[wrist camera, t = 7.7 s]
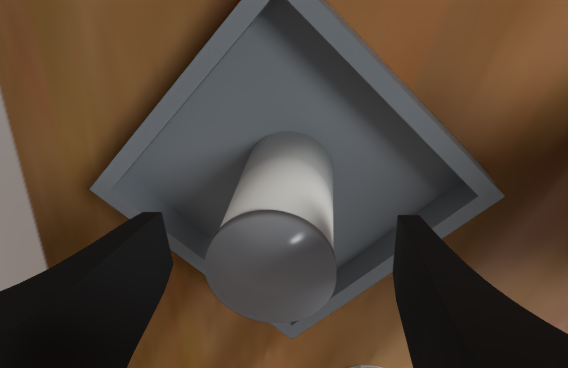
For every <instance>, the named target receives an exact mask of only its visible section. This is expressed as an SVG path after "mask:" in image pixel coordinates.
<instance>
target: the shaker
mask: <svg viewBox="0 0 568 368" xmlns="http://www.w3.org/2000/svg"><path fill="white" fill-rule="evenodd" d="M204 270H205V276H206V279H207V282H208V284H209V286H210V288H211V290H212V292H213V293H214V294H215V296H216V297H217V298H218V299H219V300H220V301H221V302H222V303H223V304H224V305H225V306H227V307H228V308H229V309H231V310H232V311H234V312H236V313H237V314H239V315H242V316H244V317H246V318H249V319H252V320H256V321H260V322H266V323H288V322H294V321H298V320H301V319H304V318H306V317H309V316H310V315H312V314H314V313H316V312H317V311H319V310H320V309H321V308H322V307H323V306H324V305H325V304H326V303H327V302H328V301H329V299H330V297H331V296H332V294H333V291H334V289H335V285H336V257H335V253H334V250H333V165H332V161H331V158H330V156H329V154H328V152H327V151H326V149H325V148H324V147H323V145H322V144H320V143H319V142H318V141H317V140H316V139H314V138H312V137H311V136H309V135H306V134H304V133H300V132H295V131H281V132H277V133H273V134H271V135H268V136H267V137H265V138H263V139H262V140H261V141H259V142H258V143H257V144H256V146H255V147H254V148H253V150H252V152H251V153H250V156H249V158H248V161H247V163H246V166H245V168H244V170H243V173H242V175H241V178H240V180H239V183H238V185H237V188H236V190H235V192H234V195H233V197H232V200H231V202H230V205H229V207H228V210H227V212H226V214H225V217H224V219H223V222H222V224H221V227H220V228H219V230H218V231H217V232H216V233H215V235H214V237H213V239H212V241H211V243H210V246H209V248H208V251H207V253H206V256H205V262H204Z"/></svg>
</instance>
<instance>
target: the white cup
mask: <svg viewBox="0 0 568 368" xmlns="http://www.w3.org/2000/svg"><path fill="white" fill-rule="evenodd" d="M349 368H382V367H379V366H371V365H358V366H354V367H349Z"/></svg>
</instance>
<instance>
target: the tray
mask: <svg viewBox="0 0 568 368" xmlns="http://www.w3.org/2000/svg"><path fill="white" fill-rule="evenodd" d="M281 131H295V132H300V133H304V134H306V135H309V136H311V137H312V138H314V139H316V140H317V141H318V142H319V143H320V144H322V145H323V147H324V148H325V149H326V151H327V152H328V154H329V156H330V158H331V161H332V165H333V250H334V253H335V257H336V285H335V289H334V291H333V294H332V296H331V297H330V299H329V301H328V302H327V303H326V304H325V305H324V306H323V307H322V308H321V309H320V310H319V311H317V312H316V313H314V314H312V315H310V316H309V317H306V318H304V319H301V320H298V321H294V322H288V323H270V324H272V325H273V326H274V327H276V328H277V329H279V330H280V331H281V332H283V333H284V334H285V335H287V336H288V337H289V338H291V339H294V338H295V337H297V336H298V335H299V334H301V333H302V332H304V331H305V330H307V329H308V328H310V327H311V326H313V325H314V324H316V323H317V322H319V321H320V320H322V319H323V318H325V317H326V316H328V315H329V314H331V313H332V312H334V311H335V310H337V309H338V308H340V307H341V306H343V305H344V304H346V303H347V302H349V301H350V300H352V299H353V298H355V297H356V296H358V295H359V294H361V293H362V292H364V291H365V290H367V289H368V288H370V287H371V286H373V285H374V284H376V283H377V282H379V281H380V280H382V279H383V278H384V277H386V276H387V275H389V274H390V273H392V272H393V261H394V250H395V239H396V228H397V217H398V215H419V216H420V217H421V218H422V219H423V220H424V221H425V222H426V223H427V224H428V225H429V226H430V227H431V228H432V230H433V231H434V232H435V233H436V234H437V235H438V236H439V237H440V238H441V239H443V238H444V237H446V236H447V235H449V234H450V233H452V232H453V231H455V230H456V229H458V228H459V227H461V226H462V225H464V224H465V223H467V222H468V221H469V220H471V219H472V218H474V217H475V216H477V215H478V214H480V213H481V212H483V211H484V210H486V209H487V208H489V207H490V206H492V205H493V204H495V203H496V202H498V201H499V200H501V199H502V198H504V197H505V196H504V195H503V193H502V192H501V191H500V189H499V188H498V186H497V185H496V183H495V182H494V181H493V179H492V178H491V176H490V175H489V174H488V172H487V171H486V170H485V169H484V168H483V167H482V166H481V165H480V164H479V163H478V162H477V160H476V159H475V158H474V157H473V156H472V155H471V154H470V153H469V152H468V151H467V150H466V149H465V148H464V147H463V146H462V145H461V143H460V142H459V141H458V140H457V139H456V138H455V137H454V136H453V135H452V134H451V133H450V132H449V131H448V130H447V129H446V128H445V127H444V125H443V124H442V123H441V122H440V121H439V120H438V119H437V118H436V117H435V116H434V115H433V114H432V113H431V112H430V111H429V110H428V109H427V107H426V106H425V105H424V104H423V103H422V102H421V101H420V100H419V99H418V98H417V97H416V96H415V95H414V94H413V93H412V92H411V90H410V89H409V88H408V87H407V86H406V85H405V84H404V83H403V82H402V81H401V80H400V79H399V78H398V77H397V76H396V75H395V74H394V72H393V71H392V70H391V69H390V68H389V67H388V66H387V65H386V64H385V63H384V62H383V61H382V60H381V59H380V58H379V57H378V56H377V54H376V53H375V52H374V51H373V50H372V49H371V48H370V47H369V46H368V45H367V44H366V43H365V42H364V41H363V40H362V39H361V37H360V36H359V35H358V34H357V33H356V32H355V31H354V30H353V29H352V28H351V27H350V26H349V25H348V24H347V23H346V22H345V21H344V19H343V18H342V17H341V16H340V15H339V14H338V13H337V12H336V11H335V10H334V9H333V8H332V7H331V6H330V5H329V4H328V3H327V1H326V0H241V1H240V2H239V4H238V5H237V6H236V7H235V9H234V10H233V11H232V12H231V13H230V15H229V16H228V17H227V18H226V20H225V21H224V22H223V23H222V25H221V26H220V27H219V28H218V30H217V31H216V32H215V33H214V35H213V36H212V37H211V38H210V40H209V41H208V42H207V43H206V45H205V46H204V47H203V48H202V50H201V51H200V52H199V53H198V55H197V56H196V57H195V58H194V60H193V61H192V62H191V63H190V65H189V66H188V67H187V68H186V70H185V71H184V72H183V73H182V75H181V76H180V77H179V78H178V80H177V81H176V82H175V83H174V84H173V86H172V87H171V88H170V89H169V91H168V92H167V93H166V94H165V96H164V97H163V98H162V99H161V101H160V102H159V103H158V104H157V106H156V107H155V108H154V109H153V111H152V112H151V113H150V114H149V116H148V117H147V118H146V119H145V121H144V122H143V123H142V124H141V126H140V127H139V128H138V129H137V131H136V132H135V133H134V134H133V136H132V137H131V138H130V139H129V141H128V142H127V143H126V144H125V146H124V147H123V148H122V149H121V151H120V152H119V153H118V154H117V155H116V157H115V158H114V159H113V160H112V162H111V163H110V164H109V165H108V167H107V168H106V169H105V170H104V172H103V173H102V174H101V175H100V177H99V178H98V179H97V180H96V182H95V183H94V184H93V185H92V187H91V188H90V189H89V190H91V191H92V192H93V193H95V194H96V195H97V196H99V197H100V198H101V199H103V200H104V201H105V202H107V203H108V204H110V205H111V206H112V207H114V208H115V209H116V210H118V211H119V212H120V213H122V214H123V215H124V216H126V217H127V218H128V219H131V218H133V217H135V216H136V215H138V214H140V213H142V212H162V215H163V220H164V224H165V229H166V233H167V238H168V242H169V247H170V250H172V251H173V252H174V253H176V254H177V255H178V256H180V257H181V258H183V259H184V260H185V261H187V262H188V263H189V264H191V265H192V266H193V267H195V268H196V269H197V270H199V271H200V272H201V273H203V274H204V275H205V270H204V262H205V256H206V253H207V251H208V248H209V246H210V243H211V241H212V239H213V237H214V235H215V233H216V232H217V231H218V230H219V228H220V227H221V224H222V222H223V219H224V217H225V214H226V212H227V210H228V207H229V205H230V202H231V200H232V197H233V195H234V192H235V190H236V188H237V185H238V183H239V180H240V178H241V175H242V173H243V170H244V168H245V166H246V163H247V161H248V158H249V156H250V153H251V152H252V150H253V148H254V147H255V146H256V144H257V143H258V142H259V141H261V140H262V139H263V138H265V137H267V136H268V135H271V134H273V133H277V132H281Z"/></svg>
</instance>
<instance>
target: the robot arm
mask: <svg viewBox="0 0 568 368" xmlns="http://www.w3.org/2000/svg"><path fill="white" fill-rule="evenodd" d="M172 267H173V260H172V256H171V251H170V247H169V242H168V238H167V233H166V229H165V224H164V220H163V215H162V212H142V213H140V214H138V215H136V216H135V217H133V218H131V219H130V220H128V221H126V222H125V223H123V224H122V225H120V226H119V227H117V228H116V229H114V230H112V231H111V232H109V233H108V234H106V235H105V236H103V237H102V238H100V239H98V240H97V241H95V242H94V243H92V244H91V245H89V246H87V247H86V248H84V249H82V250H81V251H79V252H77V253H76V254H74V255H72V256H70V257H69V258H67V259H65V260H64V261H62V262H60V263H59V264H57V265H55V266H53V267H51V268H49V269H47V270H46V271H44V272H42V273H40V274H38V275H36V276H34V277H32V278H29V279H27V280H25V281H23V282H21V283H19V284H17V285H14V286H12V287H10V288H7V289H5V290H3V291H0V368H127V366H128V364H129V361H130V359H131V357H132V355H133V353H134V351H135V349H136V347H137V345H138V343H139V341H140V339H141V337H142V335H143V333H144V331H145V329H146V327H147V325H148V323H149V321H150V319H151V317H152V315H153V313H154V311H155V309H156V307H157V305H158V303H159V301H160V299H161V297H162V295H163V293H164V291H165V288H166V285H167V282H168V279H169V276H170V273H171V270H172ZM393 277H394V286H395V294H396V301H397V305H398V309H399V313H400V317H401V321H402V325H403V329H404V333H405V337H406V341H407V345H408V349H409V353H410V357H411V361H412V364H413V368H568V334H567V333H565V332H563V331H561V330H560V329H558V328H556V327H554V326H553V325H551V324H549V323H547V322H546V321H544V320H542V319H541V318H539V317H538V316H536V315H534V314H533V313H531V312H530V311H528V310H526V309H525V308H523V307H522V306H520V305H519V304H517V303H516V302H514V301H513V300H511V299H510V298H509V297H507V296H506V295H504V294H503V293H502V292H500V291H499V290H498V289H496V288H495V287H494V286H492V285H491V284H490V283H488V282H487V281H486V280H485V279H483V278H482V277H481V276H480V275H479V274H478V273H476V272H475V271H474V270H473V269H472V268H471V267H469V266H468V265H467V264H466V263H465V262H464V261H463V260H462V259H461V258H460V257H459V256H458V255H457V254H456V253H455V252H454V251H453V250H451V249H450V248H449V247H448V245H447V244H446V243H445V242H444V241H443V240H442V239H441V238H440V237H439V236H438V235H437V234H436V233H435V232H434V231H433V230H432V228H431V227H430V226H429V225H428V224H427V223H426V222H425V221H424V220H423V219H422V218H421V217H420V216H419V215H398V217H397V228H396V239H395V250H394V261H393Z"/></svg>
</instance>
